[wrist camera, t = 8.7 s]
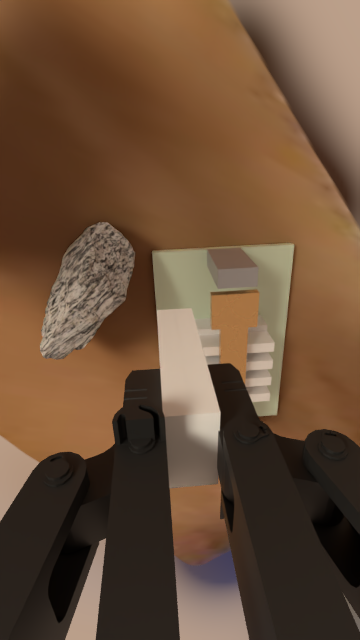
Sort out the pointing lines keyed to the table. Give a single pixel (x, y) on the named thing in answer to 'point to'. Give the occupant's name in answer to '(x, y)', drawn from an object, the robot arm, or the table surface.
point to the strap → (234, 324)
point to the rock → (86, 289)
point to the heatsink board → (231, 275)
